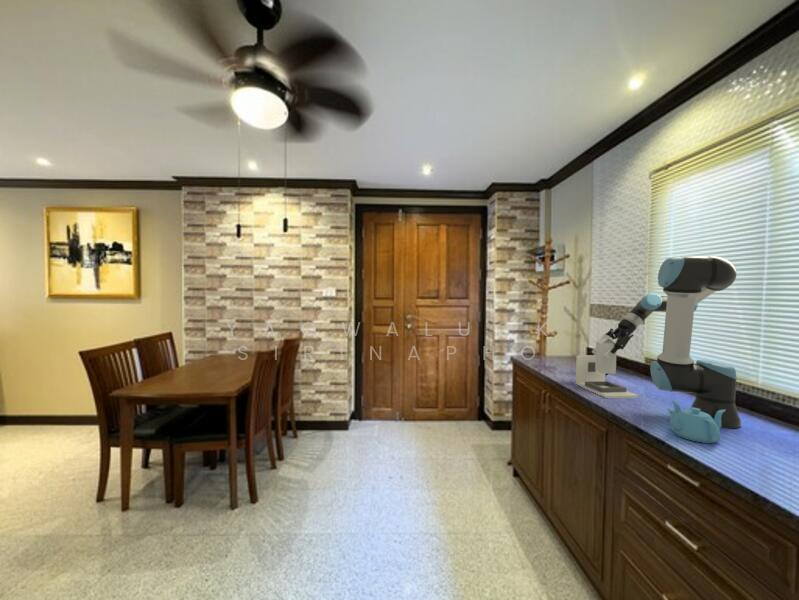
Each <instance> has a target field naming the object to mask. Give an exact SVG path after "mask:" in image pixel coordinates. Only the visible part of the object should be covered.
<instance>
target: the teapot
mask: <svg viewBox="0 0 799 600" xmlns="http://www.w3.org/2000/svg"><path fill="white" fill-rule="evenodd" d="M671 402H672V404H673V406H674V410H673V409H669V408H667V409H666V410H667V411H668V412H669V414H670V417H669V423H670V426H671V429H672V431H673V432H674V433H675V434H676V435H677V436H678V437H680V436H681V437H680V438H682V437H683V438H682V439H684V438H685V440H687V439H689V440H688V441H690V440H692V441H691V442H694V441H697V442H696V443H699V442H702V443H701V444H714V443H717V441H719V440H721V433H720V429H721V428H722V427H721V416H722V413H723V412H725V411H726V410H719V411H717V413H716V414H715V417H714V420H713V418H712V417H711V416H710V415H709V414H707V413H704V412H701V409H699V408H689V409H681V407H680V404H679V403H678V402H677V401H674V400H671ZM690 409H691V410H690Z"/></svg>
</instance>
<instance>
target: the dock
mask: <svg viewBox="0 0 799 600" xmlns="http://www.w3.org/2000/svg"><path fill="white" fill-rule="evenodd" d="M575 358H576V359H575V360H576V361H575V363H576V365H575V385H576V384H577V385H579V386H581V387H580V388H582V387H583V388H582V389H584V388H585V390H586V389H587V391H588V390H589V391H588V392H591V391H592V392H591V393H593V392H594V394H595V393H596V394H595V395H597V394H598V395H597V396H600V395H601V396H600V397H602V396H603V397H602V398H604V397H605V399H606V398H614V399H638V397H639V395H638V394H635V393H633V392H631V391H627V387H625V386H622V385H619V384H617V383H615V382H611V381H608V380H606V378H605V373H599V372H598V371H596V370H595V358H596V355H594V354H591V355H590V354H588V355H587V354H585V355H583V354H582V355H580V354H579V355H577V354H576V356H575ZM577 385H576V386H577ZM579 386H578V387H579Z"/></svg>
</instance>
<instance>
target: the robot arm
mask: <svg viewBox="0 0 799 600" xmlns="http://www.w3.org/2000/svg"><path fill="white" fill-rule="evenodd" d="M736 278H737V270H736V267H735V266H734V265H733V263H731V262H730V261H729V260H727V259H726V258H723V257H720V256H677V257H676V256H675V257H669V258H667V259H665V260H664V261H663V262H662V263H661V266H660V267H659V270H658V275H657V283H658V286H659V287H661V288H662V292H664V293H665V296H664V295H659V294H658V293H656V292H655V293H653V292H651V293H648V294H646V295H645V296H643V297H641V299H640V300H639V301H638V302H636V303H637V304H636V305H635V306H633V308H632V309H631V310H630V311H629V312H628V313H627V314H626V315H625V316H624V317H623V318H622V319H621V320H620V321H619V322H618V323H617V328H615V329H614V328H610V329H609V330H608V332H606V333H605V334H604V335H608V336H609V337H611V338H612V339H613V340H616V341H615V342H614V343H615V344H614V346H615V347H614V346H612V347H611V348H610V349H609V350H608V351H607V352H606V353H605V354H604V356H605V357H606V358H607V359H609V358H610V357H611V356H612V355H613V354H614V353H615V352H616V353H617V352H618V350H624V348H625V347H626V345H627V344H628V343H629V341H630V340H631V338H633V337H634V334H633V333H634V332H635V331H636V330H637V329H638V328H639V327H640V325H641V324H642V323H644V321H645V320H646V319H647V318H648V317H649V316H650V315H651V314H652V313H654V312H656V313H657V312H660V313H662V312H663V313H664V312H665V319H664V331H663V344H662V352H661V353H660V354H658V355H657V358H656V360H652V361H651V362H650V366H649V367H650V369H649V370H650V376H651V380H652V383H653V384H654V386H655V387H656V389H658V390H661V391H667V392H670V393H672V392H674V393H675V392H676V393H677V392H678V393H690V394H695V398H694V400H693V403H692V405H691V408H699V409H701V412H704V413H707V414H709V415H710V416H711V417H712V418H713V420H714V417H715V414H716V413H717V411H719V410H726V411H725V412H723V413H722V416H721V428H725V429H739V428H740V427H741V425H742V424H741V423H742V420H741V418H740V416H739V412H738V410H737V407H736V391H737V389H736V387H737V378H738V377H737V369H736V368H734V367H733V366H732V365H728V364H725V363H721V362H717V361H710V360H705V359H697V360H696V361H694V359H693V358H691V356H690V355H691V346H692V345H691V344H692V337H693V336H692V334H693V324H694V314H695V312H696V311H697V309H698V308H699V303H700V302H702V301H704V300H705V299H707V298H708V297H709V296H711V295H713V294H715V292H721V291H724V290H726V289H727V288H729V287H731V286H732V284H734V282H735V280H736ZM602 337H603V336H601V337H600V338H602ZM591 353H592V355H596V346H595V347H594V348H593V349H592V350H591ZM691 408H689V410H691Z"/></svg>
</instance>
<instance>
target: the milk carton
mask: <svg viewBox="0 0 799 600" xmlns="http://www.w3.org/2000/svg"><path fill="white" fill-rule="evenodd" d="M601 337H602V338H601ZM601 337H600V338H599V339H597V340H596V342H595V347H596V358H595V370H596V371H598V372H599V373H608V375H609V374H610V375H611V374H613V375H617V351H616V352H615V353H614V354H613V355H612V356H611V357H610V358H609V359H607V358H606V357H605V356H604V354H605V353H606V352H607V351H608V350H609V349H610V348H611V347H612V346H614V344H615V343H616V342H615V341H614V339H612V338H611V337H609V336H608V335H605V334H604V333H603V334H602V336H601ZM614 347H615V346H614Z"/></svg>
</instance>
